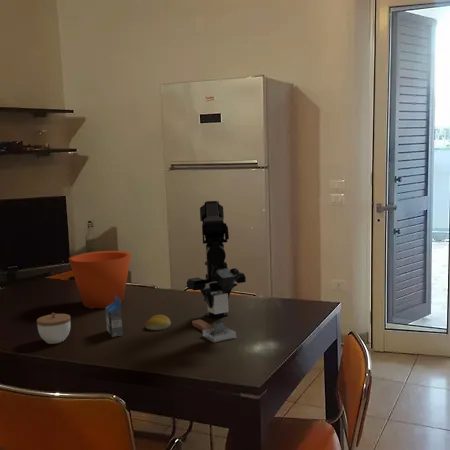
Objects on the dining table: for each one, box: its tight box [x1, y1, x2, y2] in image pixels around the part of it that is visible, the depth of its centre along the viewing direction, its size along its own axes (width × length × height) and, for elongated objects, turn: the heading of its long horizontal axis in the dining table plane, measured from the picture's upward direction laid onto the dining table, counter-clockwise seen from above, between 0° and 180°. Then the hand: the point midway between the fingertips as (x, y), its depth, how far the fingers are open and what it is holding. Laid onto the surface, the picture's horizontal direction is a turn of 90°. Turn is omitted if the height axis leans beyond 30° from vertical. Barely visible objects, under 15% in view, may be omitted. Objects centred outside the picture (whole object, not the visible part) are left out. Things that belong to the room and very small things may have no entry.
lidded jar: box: [36, 312, 72, 345], centre depth 193 cm, size 11×11×9 cm
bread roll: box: [145, 314, 171, 331], centre depth 204 cm, size 8×9×4 cm
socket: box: [206, 291, 229, 314], centre depth 188 cm, size 5×5×6 cm
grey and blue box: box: [104, 295, 124, 338], centre depth 198 cm, size 9×4×12 cm, turn 23°
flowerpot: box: [68, 250, 132, 309], centre depth 239 cm, size 25×25×20 cm
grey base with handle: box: [191, 318, 237, 343], centre depth 195 cm, size 21×8×5 cm, turn 29°
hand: (217, 306), depth 188 cm, fingers closed on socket, 5 cm apart
